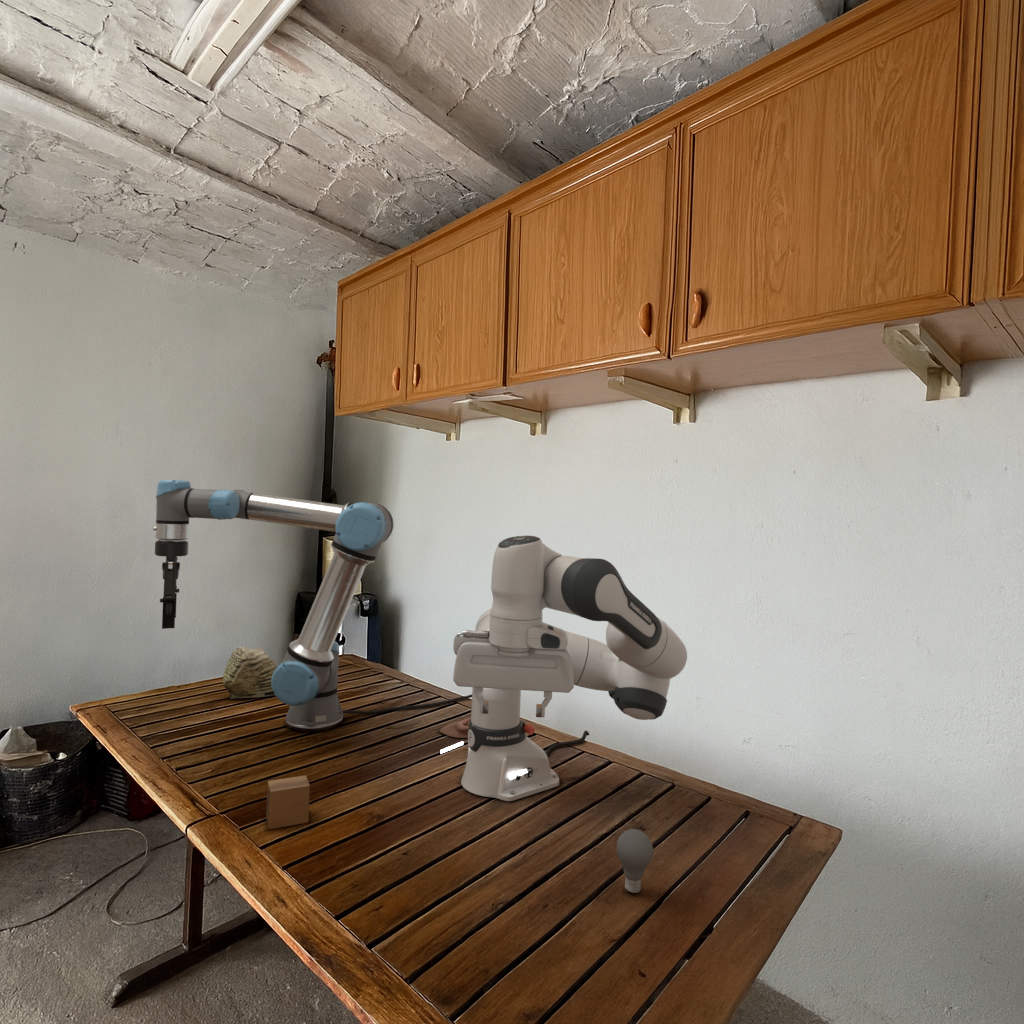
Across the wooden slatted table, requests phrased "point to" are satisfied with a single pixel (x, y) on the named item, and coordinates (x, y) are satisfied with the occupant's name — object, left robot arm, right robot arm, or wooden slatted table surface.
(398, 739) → the wooden slatted table surface
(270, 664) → the fossil
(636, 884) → the light bulb
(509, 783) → the right robot arm
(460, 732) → the anatomical model
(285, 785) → the tan brown block
